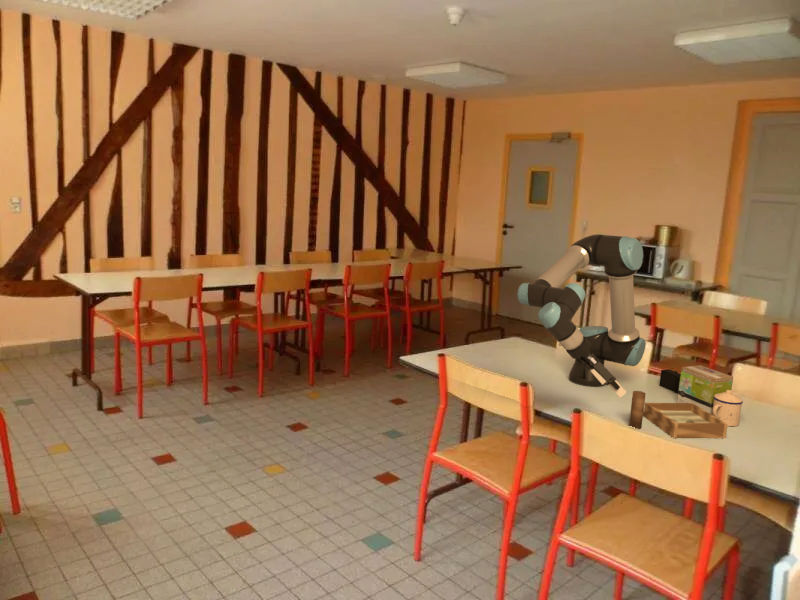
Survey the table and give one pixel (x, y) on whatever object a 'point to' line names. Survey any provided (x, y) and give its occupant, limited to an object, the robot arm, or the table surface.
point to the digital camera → (670, 380)
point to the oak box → (684, 420)
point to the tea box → (702, 386)
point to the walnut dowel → (637, 409)
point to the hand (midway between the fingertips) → (613, 388)
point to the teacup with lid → (727, 407)
